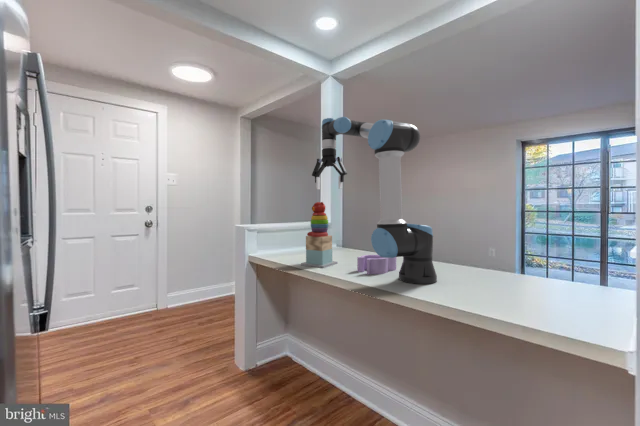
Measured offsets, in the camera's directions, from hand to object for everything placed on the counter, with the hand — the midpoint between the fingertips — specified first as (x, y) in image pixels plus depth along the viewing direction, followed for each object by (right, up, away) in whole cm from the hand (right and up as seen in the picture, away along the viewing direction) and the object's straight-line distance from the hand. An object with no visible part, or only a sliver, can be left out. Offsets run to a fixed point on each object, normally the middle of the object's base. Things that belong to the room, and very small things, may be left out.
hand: (329, 189), depth 168 cm
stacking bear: (-5, -25, -2) cm, 26 cm away
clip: (+23, -41, -17) cm, 50 cm away
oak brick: (-5, -32, -2) cm, 32 cm away
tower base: (-5, -40, -2) cm, 40 cm away
